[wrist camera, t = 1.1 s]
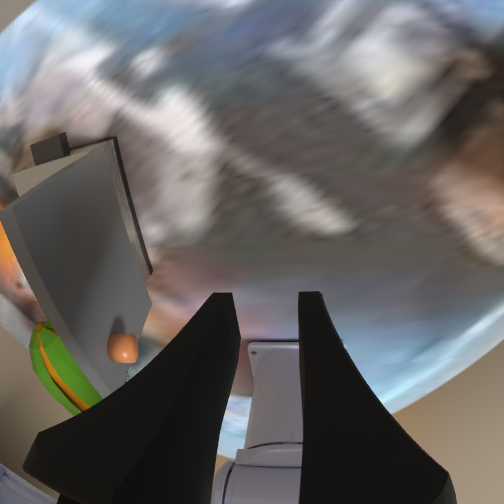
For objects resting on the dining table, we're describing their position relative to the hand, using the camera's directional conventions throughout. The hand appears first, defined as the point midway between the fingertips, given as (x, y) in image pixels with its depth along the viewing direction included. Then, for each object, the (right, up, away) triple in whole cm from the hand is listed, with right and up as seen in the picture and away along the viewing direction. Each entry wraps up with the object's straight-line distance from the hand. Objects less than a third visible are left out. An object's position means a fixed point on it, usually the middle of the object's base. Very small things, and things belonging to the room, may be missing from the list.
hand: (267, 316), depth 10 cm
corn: (-17, -11, +22) cm, 30 cm away
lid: (-9, +1, +4) cm, 10 cm away
